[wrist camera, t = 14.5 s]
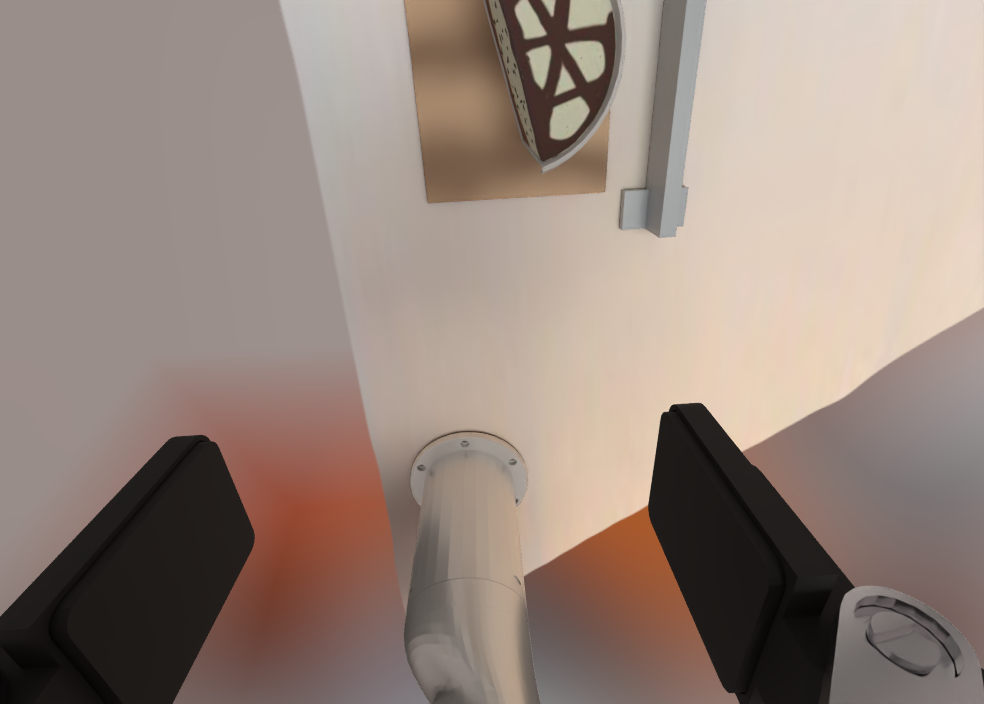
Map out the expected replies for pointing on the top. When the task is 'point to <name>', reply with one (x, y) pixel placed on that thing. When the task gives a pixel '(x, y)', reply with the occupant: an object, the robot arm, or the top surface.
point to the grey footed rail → (669, 124)
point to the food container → (558, 69)
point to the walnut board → (480, 114)
